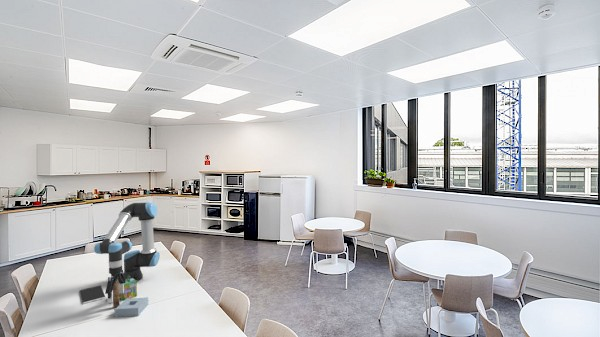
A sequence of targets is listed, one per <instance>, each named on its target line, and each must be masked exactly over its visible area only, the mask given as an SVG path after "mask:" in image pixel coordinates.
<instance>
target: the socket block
mask: <svg viewBox="0 0 600 337" xmlns="http://www.w3.org/2000/svg"><path fill="white" fill-rule="evenodd" d="M148 306H149V297H133V298H128V299H125V300H124V301H123V300H122V302H121V303H120V305H119V306H118V307H117V308H115V309H114V317H115V318H121V317H122V318H123V317H124V318H125V317H139V316H140V315H141V313H142V312H143V311H144V310H145V309H146V308H147V307H148Z"/></svg>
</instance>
